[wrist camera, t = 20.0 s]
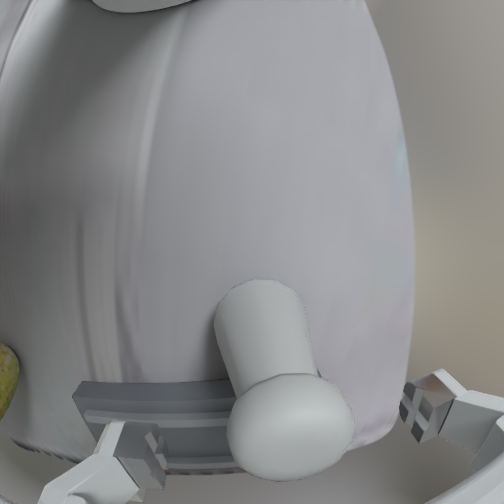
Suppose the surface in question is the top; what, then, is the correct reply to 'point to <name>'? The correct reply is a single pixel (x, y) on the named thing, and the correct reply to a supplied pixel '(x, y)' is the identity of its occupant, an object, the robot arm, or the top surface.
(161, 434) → the switch plate
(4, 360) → the vegetable
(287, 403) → the salt shaker
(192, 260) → the top surface
